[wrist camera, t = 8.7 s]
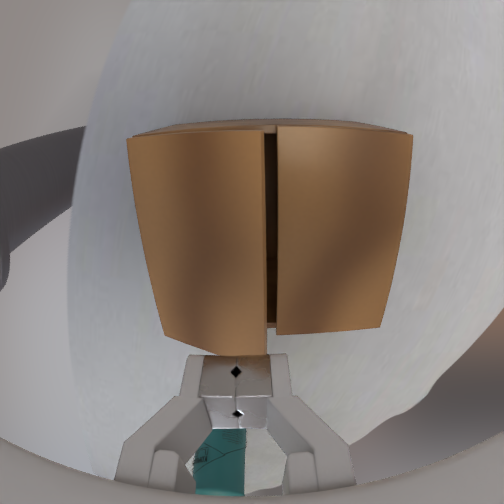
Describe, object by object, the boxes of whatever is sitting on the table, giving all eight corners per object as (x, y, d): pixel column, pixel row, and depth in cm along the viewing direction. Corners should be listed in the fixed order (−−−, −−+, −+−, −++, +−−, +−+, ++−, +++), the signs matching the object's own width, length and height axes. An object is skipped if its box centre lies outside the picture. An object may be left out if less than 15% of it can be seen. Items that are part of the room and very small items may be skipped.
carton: (190, 262, 28) (164, 336, 19) (174, 124, 23) (126, 137, 13) (344, 258, 28) (380, 328, 19) (354, 121, 22) (414, 134, 13)
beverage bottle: (254, 390, 38) (255, 528, 20) (238, 412, 40) (234, 533, 23) (208, 378, 37) (191, 521, 19) (196, 402, 39) (180, 526, 22)
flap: (167, 332, 20) (164, 335, 19) (131, 137, 14) (125, 138, 13) (267, 365, 17) (264, 369, 17) (264, 129, 11) (260, 130, 11)
